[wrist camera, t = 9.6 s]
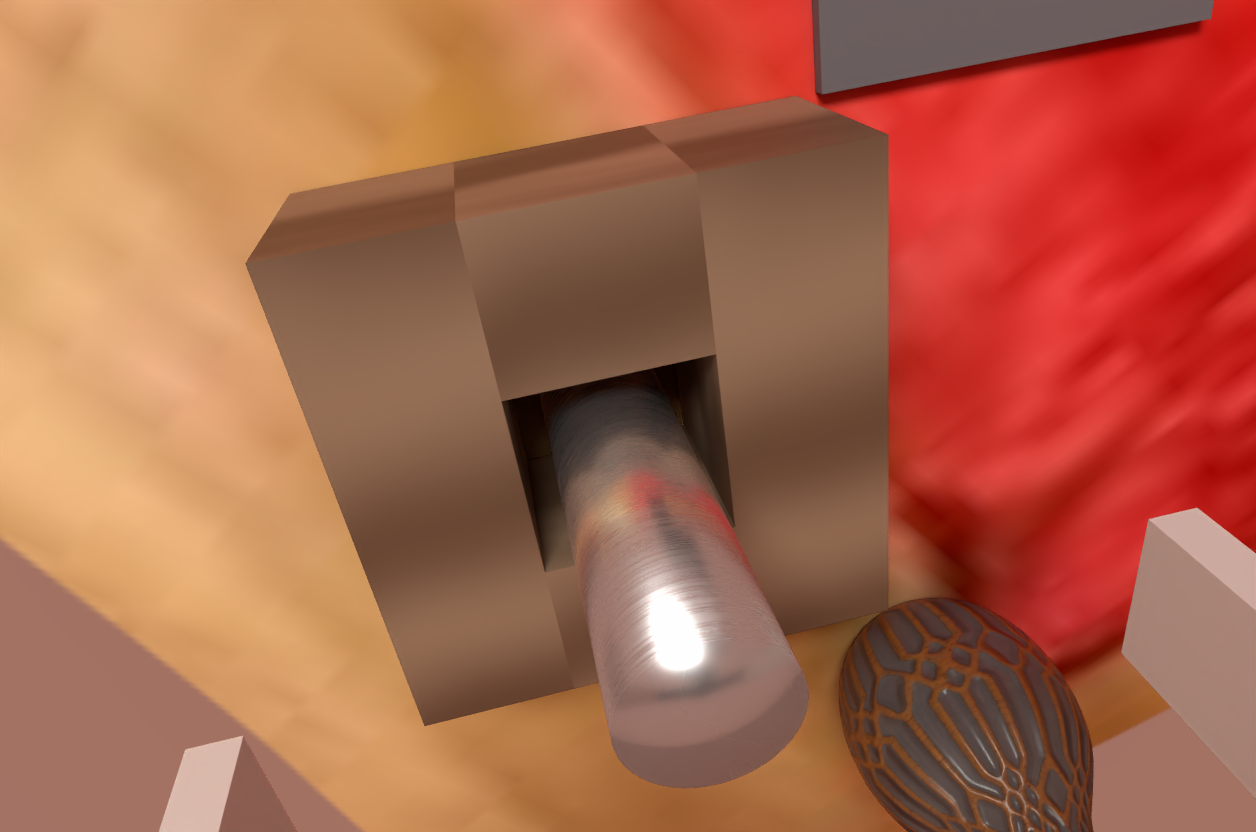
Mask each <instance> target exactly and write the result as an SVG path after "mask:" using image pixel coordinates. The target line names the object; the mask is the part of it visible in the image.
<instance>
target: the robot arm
mask: <svg viewBox="0 0 1256 832" xmlns="http://www.w3.org/2000/svg"><path fill="white" fill-rule="evenodd" d="M1121 653H1122V654H1123V656H1124V657H1125V658H1126V659H1127V660H1128V661H1129V662H1130V663H1131V664H1132V665H1133V666H1134V668H1135V669H1136V670H1137V671H1138V672H1139V673H1140V674H1141V675H1142V676H1143V677H1144V678H1145V679H1146V681H1147V682H1148V683H1149V684H1150V685H1151V686H1152V687H1153V688H1154V689H1155V690H1156V691H1157V692H1158V694H1159V695H1160V696H1161V697H1162V698H1163V699H1164V700H1165V701H1166V702H1167V703H1168V704H1169V706H1170V707H1171V708H1172V709H1173V710H1174V711H1175V712H1176V713H1177V714H1178V715H1179V716H1180V717H1181V718H1182V720H1183V721H1184V722H1185V723H1186V724H1187V725H1188V726H1189V727H1190V728H1191V729H1192V731H1193V732H1194V733H1195V734H1196V735H1197V736H1198V737H1199V738H1200V739H1201V740H1202V741H1203V742H1204V744H1205V745H1206V746H1207V747H1208V748H1209V749H1210V750H1211V751H1212V752H1213V753H1214V754H1215V755H1216V757H1217V758H1218V759H1219V760H1220V761H1221V762H1222V763H1223V764H1224V765H1225V766H1226V767H1227V768H1228V770H1229V771H1230V772H1231V773H1232V774H1233V775H1234V776H1235V777H1236V778H1237V779H1238V780H1239V781H1240V783H1241V784H1242V785H1243V786H1244V787H1245V788H1246V789H1247V790H1248V791H1249V792H1250V794H1251V795H1252V796H1253V797H1254V798H1255V799H1256V553H1254V552H1253V551H1252V550H1250V549H1249V548H1248V547H1247V546H1245V545H1244V544H1243V543H1242V542H1240V541H1239V540H1238V539H1236V538H1235V537H1234V536H1233V535H1231V534H1230V533H1229V532H1227V531H1226V530H1225V529H1224V528H1222V527H1221V526H1220V525H1218V524H1217V523H1216V522H1215V521H1213V520H1212V519H1211V518H1209V517H1208V516H1207V515H1206V514H1204V513H1203V512H1202V511H1201V510H1199V509H1198V508H1194V509H1190V510H1185V511H1181V512H1177V513H1173V514H1169V515H1165V516H1160V517H1156V518H1152V519H1149V520H1148V525H1147V530H1146V534H1145V539H1144V544H1143V549H1142V554H1141V559H1140V564H1139V569H1138V573H1137V578H1136V583H1135V588H1134V593H1133V598H1132V603H1131V607H1130V612H1129V617H1128V622H1127V627H1126V632H1125V637H1124V642H1123V646H1122V651H1121ZM159 832H297V831H296V829H295V827H294V825H293V823H292V822H291V820H290V818H289V816H288V815H287V813H286V811H285V809H284V807H283V806H282V804H281V802H280V800H279V799H278V797H277V795H276V793H275V791H274V790H273V788H272V786H271V784H270V782H269V781H268V779H267V778H266V775H265V774H264V772H263V770H262V768H261V767H260V765H259V763H258V761H257V760H256V757H255V756H254V754H253V752H252V750H251V749H250V747H249V745H248V743H247V741H246V740H245V738H244V736H240V737H236V738H232V739H227V740H224V741H219V742H215V743H211V744H207V745H203V746H198V747H194V748H190V749H186V750H185V753H184V756H183V759H182V762H181V765H180V768H179V771H178V775H177V777H176V780H175V784H174V787H173V790H172V793H171V796H170V799H169V802H168V805H167V809H166V811H165V814H164V817H163V821H162V824H161V827H160V830H159Z"/></svg>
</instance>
